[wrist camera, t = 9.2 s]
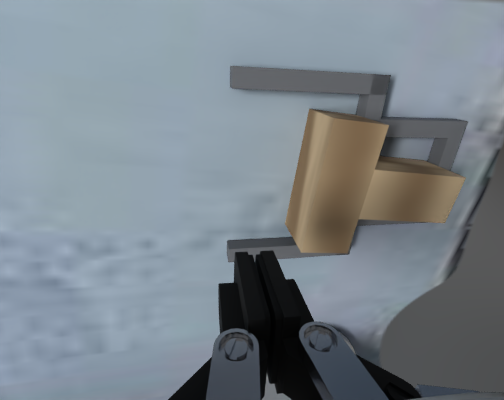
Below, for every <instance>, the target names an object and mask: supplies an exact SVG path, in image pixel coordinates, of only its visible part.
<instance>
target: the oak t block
mask: <svg viewBox="0 0 504 400" xmlns="http://www.w3.org/2000/svg"><path fill="white" fill-rule="evenodd" d="M388 127H389V125H387V124H384V123H380V122H377V121H374V120H371V119H367V118H364V117H361V116H358V115H353V114H345V113H338V112H330V111H323V110H315V109H309V113H308V118H307V123H306V127H305V132H304V137H303V141H302V146H301V151H300V156H299V160H298V165H297V170H296V175H295V179H294V184H293V189H292V193H291V198H290V203H289V208H288V212H287V217H286V222H285V225H286V226H287V228H288V230H289V232H290V234H291V235H292V237H293V239H294V241H295V242H296V244H297V246H298V248H299V250H300V251H301V253H348V250H349V247H350V244H351V241H352V238H353V235H354V232H355V229H356V225H357V222H358V219H365V220H388V221H410V222H433V223H445V222H446V220H447V218H448V215H449V213H450V211H451V209H452V207H453V205H454V202H455V200H456V198H457V196H458V194H459V192H460V190H461V187H462V185H463V183H464V181H465V179H466V178H465V177H463V176H461V175H458V174H456V173H453V172H451V171H448V170H446V169H444V168H441V167H439V166H436V165H434V164H432V163H429V162H427V161H424V160H415V159H405V158H395V157H385V156H379V155H380V152H381V149H382V146H383V143H384V139H385V136H386V133H387V130H388Z"/></svg>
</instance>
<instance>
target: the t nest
mask: <svg viewBox="0 0 504 400" xmlns="http://www.w3.org/2000/svg"><path fill="white" fill-rule="evenodd" d="M390 76H391V75H378V74H361V73H343V72H326V71H309V70H291V69H274V68H256V67H239V66H230V87H231V88H233V89H256V90H279V91H302V92H325V93H348V94H360V96H359V101H358V106H357V111H356V115H358V116H361V117H364V118H367V119H371V120H374V121H377V122H380V123H384V124H387V125H389V127H388V130H387V133H386V136H385V137H411V138H435V139H434V142H433V145H432V148H431V151H430V155H429V158H428V161H427V162H429V163H432V164H434V165H436V166H439V167H441V168H444V169H446V170H448V171H451V168H452V165H453V162H454V159H455V157H456V154H457V151H458V148H459V145H460V143H461V140H462V137H463V134H464V131H465V129H466V126H467V123H468V122H467V121H462V120H457V119H440V118H405V117H381V115H382V111H383V107H384V102H385V98H386V94H387V89H388V85H389V81H390ZM404 223H426V222H410V221H388V220H365V219H358V222H357V225H356V226H361V225H383V224H404ZM353 236H354V235H353ZM352 240H353V238H352ZM351 244H352V241H351ZM351 244H350V247H349V250H348V253H301V251H300V250H299V248H298V246H297V244H296V242H295V241H294V239H293V237H288V238H269V239H250V240H230V241H227V256H228V262H234V259H235V252H248V255H253V258H254V261H255V257H256V254H260V251H270V250H273V251H274V253H275V256H276V258H277V259H285V258H300V257H315V256H331V255H346V254H349V253H350V249H351Z"/></svg>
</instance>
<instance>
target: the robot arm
mask: <svg viewBox="0 0 504 400" xmlns="http://www.w3.org/2000/svg"><path fill="white" fill-rule="evenodd" d="M219 324H220V335H219V336H218V337H217V338H216V340H215V343H214V347H213V353H212V357H211V358H210V359H209V360H208V361H207V362H206V363H205V364H204V365H203V366H202V367H201V368H200V369H199V370H198V371H197V372H196V373H195V374H194V375H193V376H192V377H191V378H190V379H189V380H188V381H187V382H186V383H185V384H184V385H183V386H182V387H181V388H180V389H179V390H178V391H177V392H176V393H174V394H173V395H172V396H171V397H170V398H169V399H168V400H504V393H500V392H499V393H496V392H478V391H473V390H464V389H455V388H446V387H437V386H428V385H419V384H418V385H417V387H416V388H414V387H413V386H412V385H411V384H409V383H408V382H406V381H404V380H403V379H401V378H399V377H397V376H395V375H393V374H392V373H390V372H388V371H386V370H384V369H382V368H380V367H378V366H376V365H375V364H373V363H371V362H369V361H367V360H365V359H363V358H361V357H360V356H358V355H356V353H355V351H354V348H353V346H352V345H351V343H350V341H349V340H348V338H347V337H345V336H344V335H343V334H342V333H340V332H338V331H337V330H336V329H335V328H333V327H332V326H330V325H328V324H326V323H323V322H317V321H316V322H314V320H313V318H312V316H311V314H310V311H309V309H308V307H307V305H306V303H305V301H304V299H303V297H302V295H301V292H300V290H299V288H298V286H297V284H296V282H295V280H294V279H285V277H284V274H283V272H282V270H281V267H280V265H279V263H278V260H277V258H276V256H275V253H274V251H273V250H270V251H260V254H256V257H255V261H254V258H253V255H248V252H235V259H234V283H222V284H219Z"/></svg>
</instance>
